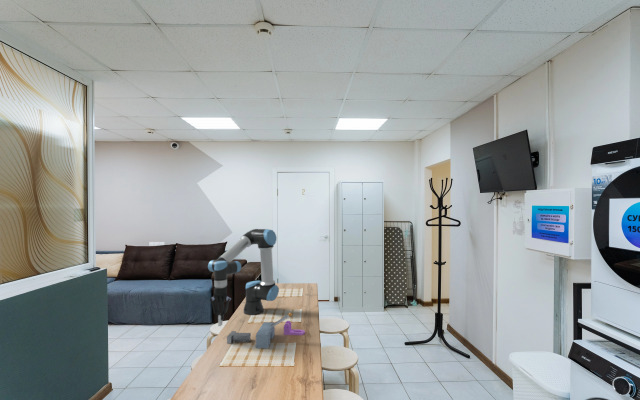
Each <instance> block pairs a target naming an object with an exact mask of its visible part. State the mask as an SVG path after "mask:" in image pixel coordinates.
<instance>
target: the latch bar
mask: <svg viewBox="0 0 640 400" xmlns="http://www.w3.org/2000/svg"><path fill="white" fill-rule="evenodd" d="M292 316H293V313H292V312H288V314H286V315H285V316H283V317H282V318H280V319H278V320H277V321H275V322H274V324H272V325H271V328H273V327H274V326H275V327H276V326H278V325H279V324H280V323H282V322H285V320H286V321H287V319H289V318H291V317H292Z"/></svg>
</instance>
